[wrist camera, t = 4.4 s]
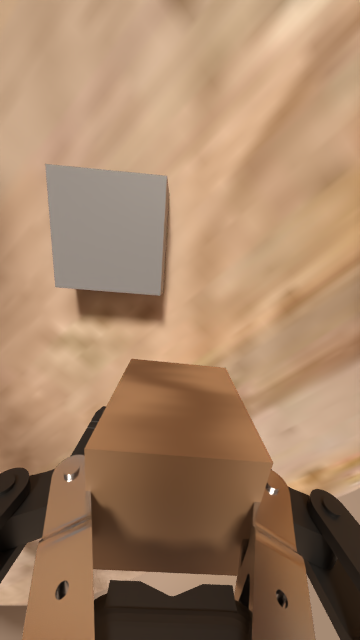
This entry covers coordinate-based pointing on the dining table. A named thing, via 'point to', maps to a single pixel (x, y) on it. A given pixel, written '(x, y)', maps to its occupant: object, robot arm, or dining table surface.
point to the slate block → (108, 229)
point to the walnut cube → (173, 472)
